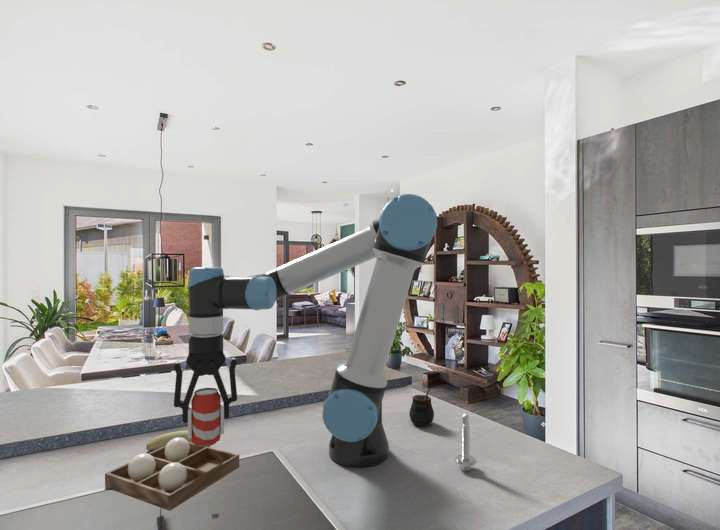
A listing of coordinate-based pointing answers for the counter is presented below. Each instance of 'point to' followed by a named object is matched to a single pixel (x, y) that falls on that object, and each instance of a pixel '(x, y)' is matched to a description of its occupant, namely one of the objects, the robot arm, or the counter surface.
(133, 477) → the egg
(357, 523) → the counter surface
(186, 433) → the fruit
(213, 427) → the beverage can
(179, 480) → the egg
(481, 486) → the counter surface
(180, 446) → the egg
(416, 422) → the mate gourd
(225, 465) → the crate
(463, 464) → the screw
